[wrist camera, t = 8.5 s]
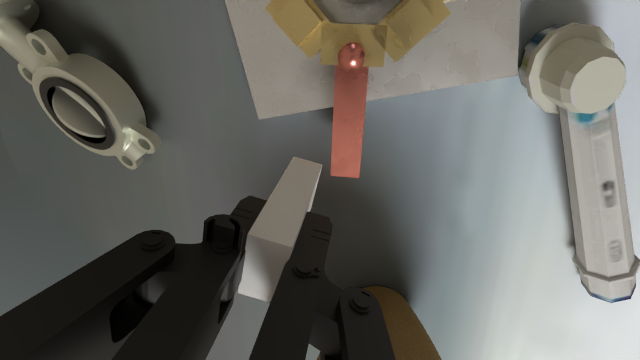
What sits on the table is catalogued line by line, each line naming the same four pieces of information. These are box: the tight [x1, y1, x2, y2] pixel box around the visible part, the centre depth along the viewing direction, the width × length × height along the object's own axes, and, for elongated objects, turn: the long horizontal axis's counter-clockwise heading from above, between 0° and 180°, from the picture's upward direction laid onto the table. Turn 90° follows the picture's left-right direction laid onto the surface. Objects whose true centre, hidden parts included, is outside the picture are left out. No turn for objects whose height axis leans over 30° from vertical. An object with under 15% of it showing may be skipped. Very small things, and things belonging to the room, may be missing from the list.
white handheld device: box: [518, 22, 640, 303], centre depth 27 cm, size 5×7×25 cm
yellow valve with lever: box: [265, 0, 455, 178], centre depth 21 cm, size 20×12×5 cm, turn 179°
